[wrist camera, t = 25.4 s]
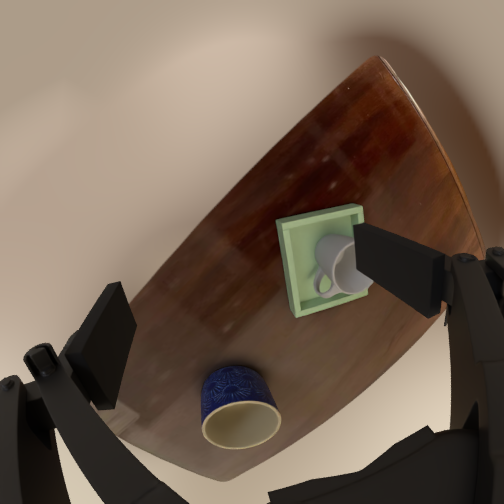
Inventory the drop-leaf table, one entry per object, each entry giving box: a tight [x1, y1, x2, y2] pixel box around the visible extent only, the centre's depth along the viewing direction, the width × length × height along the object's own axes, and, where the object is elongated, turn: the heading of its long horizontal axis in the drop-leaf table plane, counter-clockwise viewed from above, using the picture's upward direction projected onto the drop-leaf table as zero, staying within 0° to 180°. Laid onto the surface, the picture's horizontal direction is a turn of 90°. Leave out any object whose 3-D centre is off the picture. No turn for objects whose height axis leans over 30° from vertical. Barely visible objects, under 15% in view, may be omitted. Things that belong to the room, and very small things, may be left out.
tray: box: [276, 203, 368, 318], centre depth 44 cm, size 15×13×3 cm
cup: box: [313, 234, 374, 299], centre depth 41 cm, size 8×10×8 cm
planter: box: [201, 366, 281, 449], centre depth 44 cm, size 12×12×11 cm
